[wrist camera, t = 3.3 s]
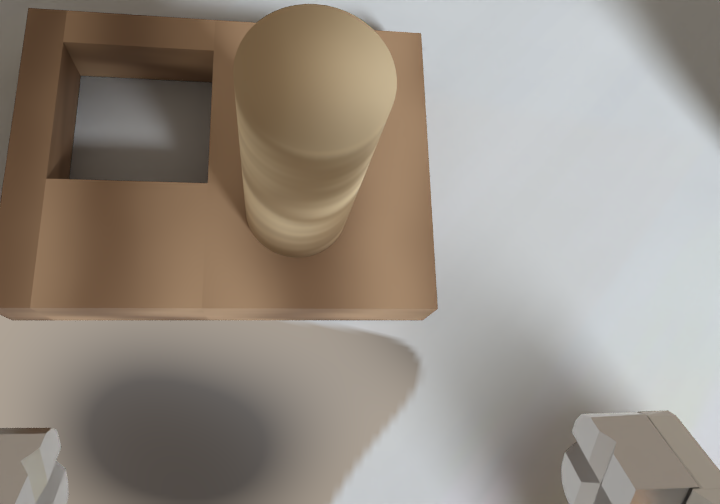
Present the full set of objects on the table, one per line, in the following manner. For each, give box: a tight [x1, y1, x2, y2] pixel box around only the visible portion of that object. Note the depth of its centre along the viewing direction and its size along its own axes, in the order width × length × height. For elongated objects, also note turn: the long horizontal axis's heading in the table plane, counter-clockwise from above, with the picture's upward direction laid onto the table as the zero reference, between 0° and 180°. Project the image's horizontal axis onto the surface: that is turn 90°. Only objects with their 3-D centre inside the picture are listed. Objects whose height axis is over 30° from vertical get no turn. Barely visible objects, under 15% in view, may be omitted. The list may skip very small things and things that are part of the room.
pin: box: [233, 4, 397, 258], centre depth 20 cm, size 4×4×10 cm
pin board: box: [0, 8, 438, 320], centre depth 26 cm, size 16×12×2 cm
